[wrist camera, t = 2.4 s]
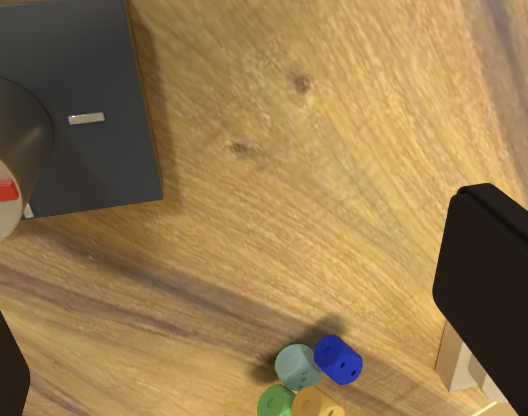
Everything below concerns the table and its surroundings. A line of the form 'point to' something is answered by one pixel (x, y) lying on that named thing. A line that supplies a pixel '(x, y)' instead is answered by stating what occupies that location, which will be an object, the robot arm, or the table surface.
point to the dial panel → (83, 102)
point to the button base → (463, 367)
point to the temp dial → (20, 151)
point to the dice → (310, 379)
